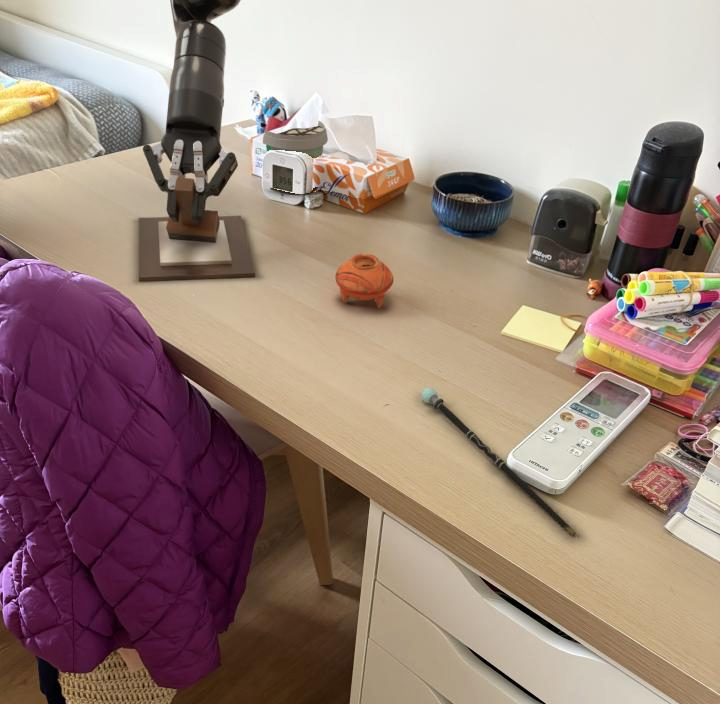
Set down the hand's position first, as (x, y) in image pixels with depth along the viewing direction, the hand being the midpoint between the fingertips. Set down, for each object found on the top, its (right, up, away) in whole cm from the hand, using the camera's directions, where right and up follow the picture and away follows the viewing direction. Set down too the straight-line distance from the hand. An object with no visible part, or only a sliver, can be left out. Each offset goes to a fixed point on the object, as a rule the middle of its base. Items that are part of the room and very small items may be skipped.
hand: (185, 220), depth 101 cm
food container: (+14, +15, +27) cm, 34 cm away
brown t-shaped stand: (0, +1, +6) cm, 6 cm away
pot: (+25, -12, -1) cm, 28 cm away
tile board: (0, -2, +7) cm, 7 cm away
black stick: (+39, -35, -25) cm, 58 cm away
